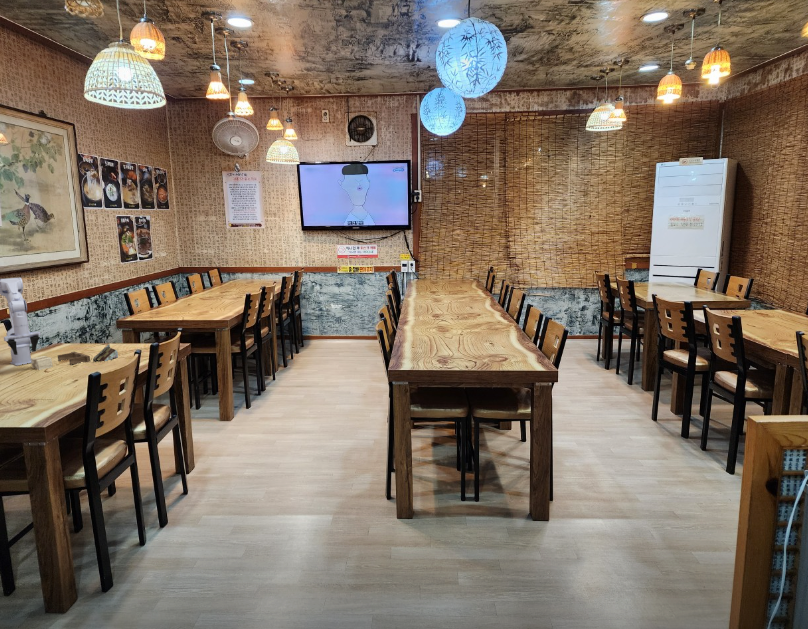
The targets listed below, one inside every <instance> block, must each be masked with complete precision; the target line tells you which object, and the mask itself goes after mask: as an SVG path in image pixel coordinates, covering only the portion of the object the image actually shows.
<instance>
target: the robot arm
mask: <svg viewBox="0 0 808 629" xmlns="http://www.w3.org/2000/svg"><path fill="white" fill-rule="evenodd" d="M23 292H24V282H23V278H22V277H19V276H18V277H10V278H0V296H3V297H4V298H5V299H6V301H7V306H8V312H9V318H10V324H11V328H10V329H9V330H7V331H6V336H3V341H4V342H6V343H7V345H8V347H9V348H10V357H11V361H9V362H10V363H9V364H11V365H13V366H23V365H27V363H28V364H32V362H31V358H32V357H31V350H32V352H36V351H37V345H38V342H39V340H40V336H41V335H42V334H41V333H42V332H41V331H30V328H29V321H28V314H27V312H28V306H27V305H28V304H27V301H26V299H24V296H23V295H22V294H23ZM30 345H31V348H30ZM22 364H23V365H22Z"/></svg>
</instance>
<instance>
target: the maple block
mask: <svg viewBox="0 0 808 629" xmlns="http://www.w3.org/2000/svg"><path fill="white" fill-rule="evenodd" d="M31 362H32V363H31V368H32V369H34V368H35V369H34V370H37V369H38V370H37V371H42V369H43V370H47V369H51V367H52V368H54V366H53V360H52V357H50V356H47V355H42V356H37V357H31ZM46 368H47V369H46Z"/></svg>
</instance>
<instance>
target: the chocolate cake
mask: <svg viewBox="0 0 808 629" xmlns="http://www.w3.org/2000/svg"><path fill="white" fill-rule="evenodd" d="M118 354H119V353H118V350H117V349H114V348H112V347H111V346H110V343H109V344H107V345H106V346H105V347H104V348H102V349H101V350H100V351H99V352H98V353H97V354H96V355H94V357H93V358H92V361H93V362H94V361H95V362H98V361H99V362H102V361H105V362H107V361H113V360H114V359H118V357H119V355H118ZM113 358H114V359H113ZM97 360H98V361H97Z"/></svg>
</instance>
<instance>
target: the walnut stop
mask: <svg viewBox="0 0 808 629" xmlns="http://www.w3.org/2000/svg"><path fill="white" fill-rule="evenodd" d="M90 356H91V355H88V354H85V353H80V352H77V351H71V352H68V353H63V354H58V355H57V360H58V361H59V362H62V361H61V360H64V361H67V360H66V359H68V361H69V362H68V363H69V365H70V366H73V365H72V364H74V365H78V364H82V363H81V362H83V363H90V362H91V357H90ZM89 361H90V362H89ZM77 363H78V364H77Z"/></svg>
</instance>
